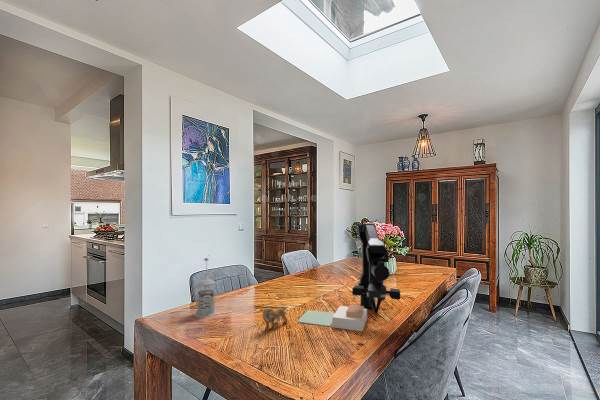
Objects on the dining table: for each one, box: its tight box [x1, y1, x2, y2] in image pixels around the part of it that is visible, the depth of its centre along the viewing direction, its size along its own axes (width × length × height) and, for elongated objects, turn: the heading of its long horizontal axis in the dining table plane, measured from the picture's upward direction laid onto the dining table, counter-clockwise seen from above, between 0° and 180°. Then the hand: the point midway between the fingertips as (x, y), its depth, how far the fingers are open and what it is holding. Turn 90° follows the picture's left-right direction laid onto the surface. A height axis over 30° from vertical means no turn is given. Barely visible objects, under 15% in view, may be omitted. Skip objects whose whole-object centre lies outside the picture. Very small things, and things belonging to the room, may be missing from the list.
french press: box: [190, 257, 218, 319], centre depth 136 cm, size 10×12×25 cm
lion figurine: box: [262, 307, 288, 331], centre depth 122 cm, size 15×5×9 cm, turn 152°
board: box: [331, 305, 368, 332], centre depth 126 cm, size 15×12×4 cm
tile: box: [346, 304, 364, 318], centre depth 126 cm, size 9×6×2 cm, turn 161°
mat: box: [296, 309, 336, 328], centre depth 131 cm, size 15×14×1 cm
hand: (376, 313), depth 123 cm, fingers closed
